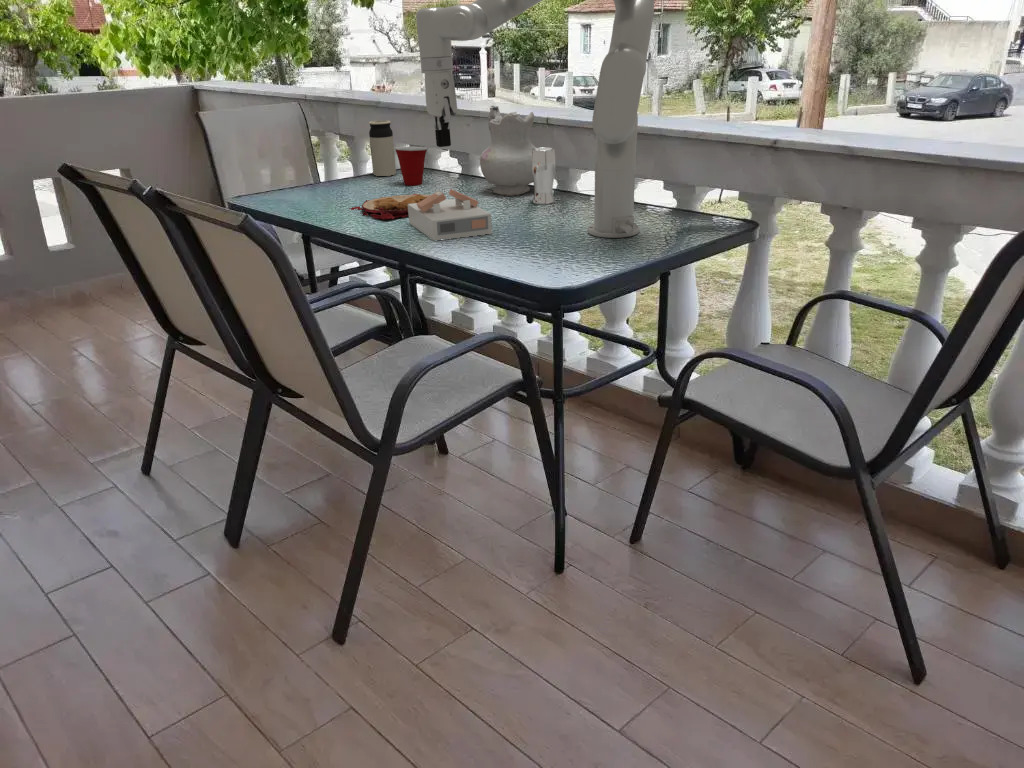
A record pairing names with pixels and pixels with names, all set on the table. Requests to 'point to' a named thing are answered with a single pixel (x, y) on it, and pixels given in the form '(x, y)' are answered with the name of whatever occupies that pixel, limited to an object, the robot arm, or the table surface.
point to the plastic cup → (411, 164)
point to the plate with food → (390, 206)
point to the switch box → (450, 220)
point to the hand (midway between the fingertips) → (443, 146)
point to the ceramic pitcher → (508, 153)
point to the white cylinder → (543, 174)
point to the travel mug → (382, 148)
